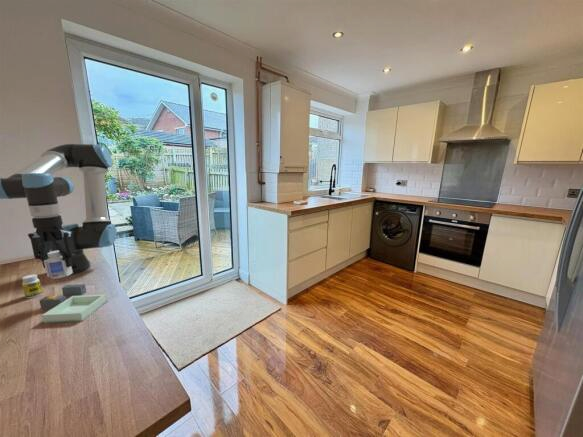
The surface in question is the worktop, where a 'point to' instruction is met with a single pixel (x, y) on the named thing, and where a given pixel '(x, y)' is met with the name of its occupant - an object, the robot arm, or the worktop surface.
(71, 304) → the tray
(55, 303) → the block
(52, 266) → the pill bottle
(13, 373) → the worktop surface
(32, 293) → the supplement bottle
